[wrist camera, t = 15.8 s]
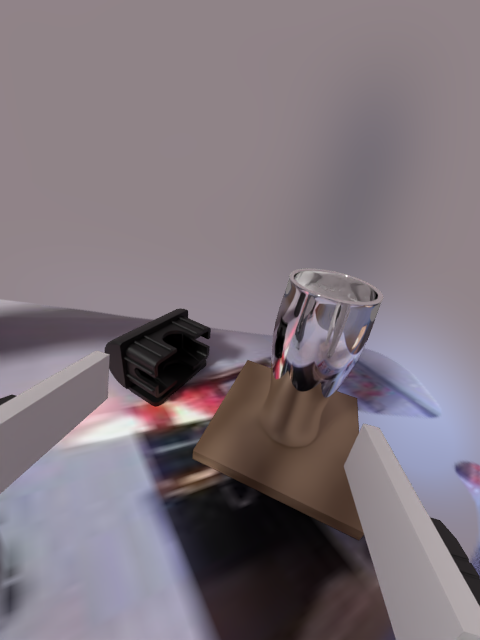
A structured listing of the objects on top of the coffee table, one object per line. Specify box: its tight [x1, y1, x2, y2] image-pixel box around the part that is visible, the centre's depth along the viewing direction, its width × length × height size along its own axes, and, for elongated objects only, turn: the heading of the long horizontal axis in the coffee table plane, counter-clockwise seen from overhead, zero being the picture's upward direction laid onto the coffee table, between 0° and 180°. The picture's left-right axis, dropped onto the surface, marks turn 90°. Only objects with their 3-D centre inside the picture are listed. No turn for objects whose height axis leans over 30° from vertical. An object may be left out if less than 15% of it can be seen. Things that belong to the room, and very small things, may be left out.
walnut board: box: [193, 360, 364, 540], centre depth 25 cm, size 14×14×1 cm
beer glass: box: [259, 269, 383, 448], centre depth 21 cm, size 7×7×15 cm
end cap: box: [105, 309, 211, 406], centre depth 29 cm, size 10×7×7 cm
